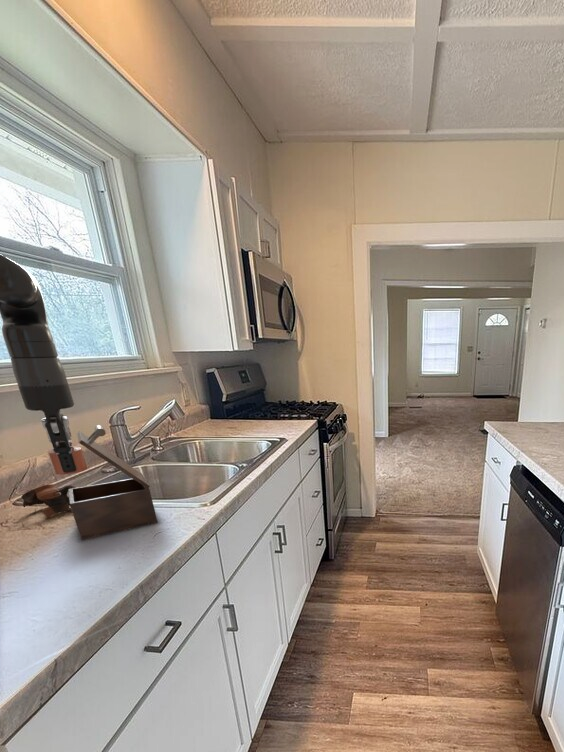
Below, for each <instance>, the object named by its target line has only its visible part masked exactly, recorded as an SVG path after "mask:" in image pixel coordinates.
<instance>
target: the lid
mask: <svg viewBox="0 0 564 752" xmlns="http://www.w3.org/2000/svg"><path fill="white" fill-rule="evenodd" d="M93 430H94V431H93V432H92V433H91V434H90V435H89V436H87V435H86V434H84V432H82V431H80V430H79V431H78V432H77V433H76V437H77V441H78V443H79V444H80V445H81V446H83V447H84V448H86V449H87V450H89V451H90V452H92V453H93V454H95V455H96V456H98V457H100V458H101V459H103V460H104V461H106V462H107V463H109V464H110V465H112V466H113V467H115V468H116V469H117V470H119V471H120V472H122V473H123V474H125V475H127V476H128V477H130V479H132V478H133V479H134V480H136V481H137V482H139V483H140V484H142V485H143V486H145V487H146V488H149V489H150V487H151V485H150V484H149V482H148V481H147V479H146V477H145V476H144V474H143V473H142V472H140V471H139V470H137V469H136V468H134V467H133V466H131V465H130V464H128V463H127V462H125V461H124V460H123V459H121V458H120V457H118V456H117V455H115V454H114V453H113V452H111V451H109V450H108V449H107V448H105V447H103V446H102V445H101V444H100V443H97V442H96V440H97V439H98V438H99V437H104V436H106V430H105V428H104V427H103V426H102V425H101V424H97V425H95V426H94V429H93Z"/></svg>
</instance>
